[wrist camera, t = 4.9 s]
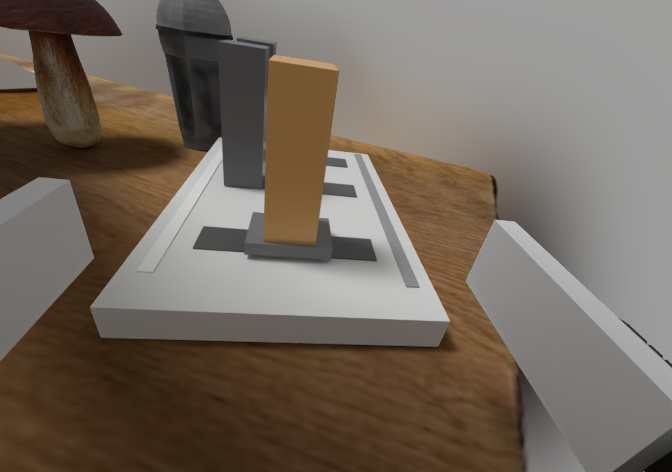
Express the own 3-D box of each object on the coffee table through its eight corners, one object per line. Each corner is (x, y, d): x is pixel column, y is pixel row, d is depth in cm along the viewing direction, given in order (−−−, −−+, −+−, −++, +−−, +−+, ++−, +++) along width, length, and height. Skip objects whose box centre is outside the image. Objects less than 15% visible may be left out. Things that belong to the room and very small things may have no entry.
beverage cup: (248, 147, 40) (247, -65, 30) (197, 159, 35) (175, -96, 24) (209, 132, 43) (196, -67, 33) (157, 140, 38) (121, -95, 27)
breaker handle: (244, 254, 18) (243, 56, 13) (252, 222, 21) (254, 51, 16) (330, 260, 19) (362, 75, 14) (327, 228, 22) (352, 66, 17)
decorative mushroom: (158, 155, 34) (132, -23, 26) (21, 174, 27) (-75, -66, 19) (119, 127, 40) (87, -27, 32) (-4, 136, 32) (-85, -62, 24)
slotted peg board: (100, 337, 15) (-7, 42, 9) (220, 154, 37) (214, 31, 31) (438, 346, 18) (545, 122, 11) (364, 170, 39) (386, 59, 33)
